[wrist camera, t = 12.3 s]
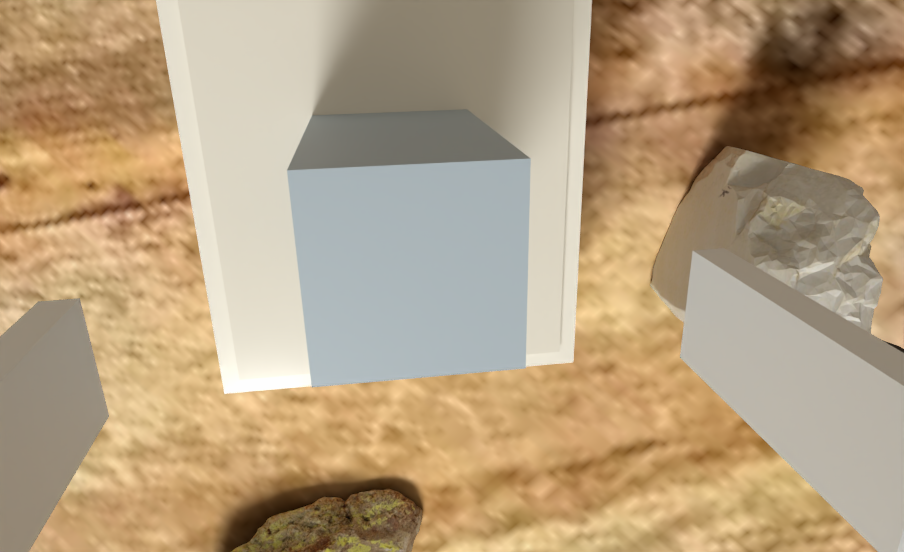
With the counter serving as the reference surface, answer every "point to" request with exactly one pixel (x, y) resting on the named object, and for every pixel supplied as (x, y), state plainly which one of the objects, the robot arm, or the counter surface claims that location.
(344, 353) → the block
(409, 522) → the rock
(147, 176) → the counter surface
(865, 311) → the stone
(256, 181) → the plinth
